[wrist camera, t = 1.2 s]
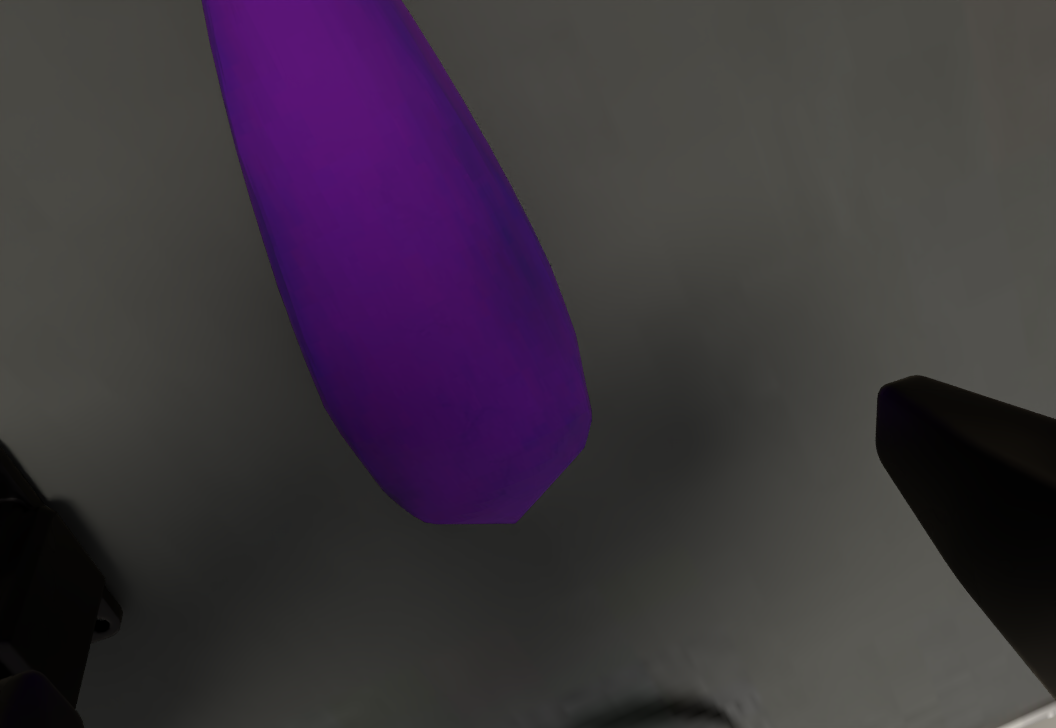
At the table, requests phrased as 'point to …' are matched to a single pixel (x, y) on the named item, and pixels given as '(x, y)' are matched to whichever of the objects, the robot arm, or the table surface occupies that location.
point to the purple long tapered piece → (401, 257)
